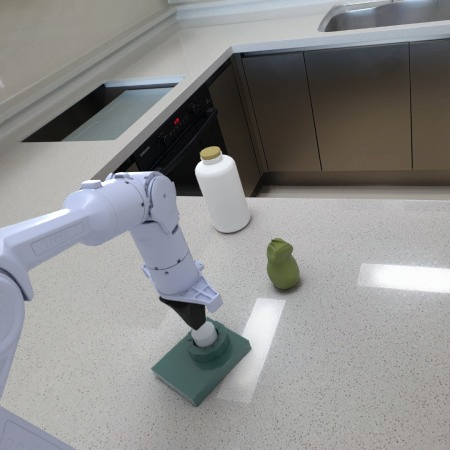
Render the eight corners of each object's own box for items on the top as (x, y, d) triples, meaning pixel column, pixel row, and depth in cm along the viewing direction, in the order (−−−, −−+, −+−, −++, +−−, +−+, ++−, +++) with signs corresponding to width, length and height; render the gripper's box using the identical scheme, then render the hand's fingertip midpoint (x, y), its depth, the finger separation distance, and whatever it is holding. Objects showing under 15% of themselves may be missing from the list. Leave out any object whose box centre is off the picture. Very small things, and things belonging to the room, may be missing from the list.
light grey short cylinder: (205, 351, 70) (201, 343, 68) (190, 342, 72) (186, 333, 70) (222, 335, 72) (218, 326, 70) (207, 326, 74) (203, 317, 72)
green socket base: (196, 407, 66) (188, 391, 64) (155, 375, 72) (145, 360, 70) (251, 348, 73) (245, 331, 71) (209, 323, 79) (203, 308, 76)
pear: (288, 269, 86) (277, 227, 80) (308, 281, 83) (298, 238, 77) (266, 286, 84) (253, 245, 78) (286, 299, 80) (274, 257, 74)
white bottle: (208, 233, 100) (181, 161, 89) (224, 211, 106) (201, 141, 95) (242, 236, 97) (219, 162, 86) (257, 212, 103) (237, 141, 92)
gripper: (227, 253, 57) (252, 324, 65) (157, 222, 66) (186, 289, 74) (185, 289, 53) (217, 360, 61) (116, 252, 62) (152, 319, 70)
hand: (198, 324), depth 67 cm, fingers closed
